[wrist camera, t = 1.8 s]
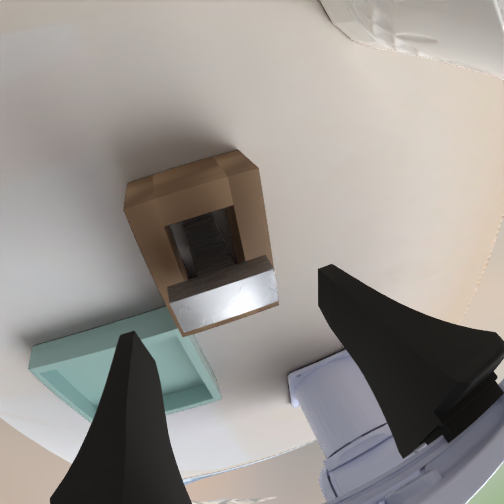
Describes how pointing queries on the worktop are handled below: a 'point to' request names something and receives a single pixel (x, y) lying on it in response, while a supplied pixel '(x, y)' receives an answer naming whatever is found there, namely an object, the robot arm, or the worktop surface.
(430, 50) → the white cup
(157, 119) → the worktop surface
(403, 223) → the worktop surface
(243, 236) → the frame ring
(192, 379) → the tray
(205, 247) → the t post
